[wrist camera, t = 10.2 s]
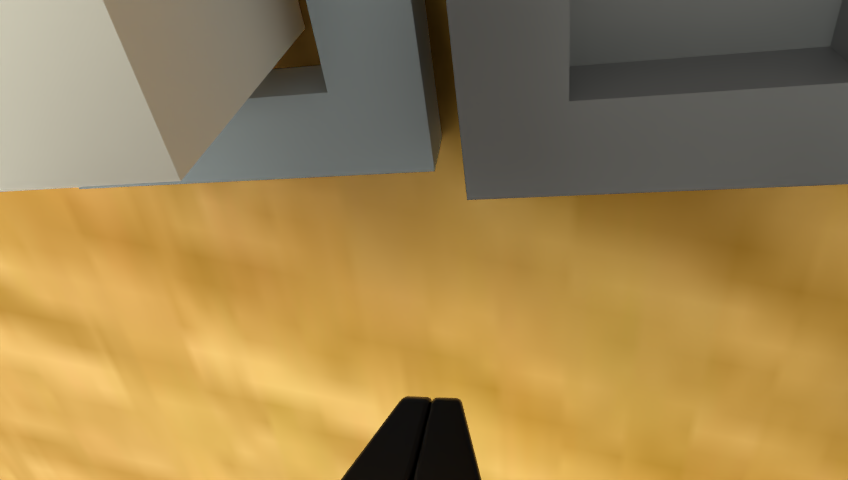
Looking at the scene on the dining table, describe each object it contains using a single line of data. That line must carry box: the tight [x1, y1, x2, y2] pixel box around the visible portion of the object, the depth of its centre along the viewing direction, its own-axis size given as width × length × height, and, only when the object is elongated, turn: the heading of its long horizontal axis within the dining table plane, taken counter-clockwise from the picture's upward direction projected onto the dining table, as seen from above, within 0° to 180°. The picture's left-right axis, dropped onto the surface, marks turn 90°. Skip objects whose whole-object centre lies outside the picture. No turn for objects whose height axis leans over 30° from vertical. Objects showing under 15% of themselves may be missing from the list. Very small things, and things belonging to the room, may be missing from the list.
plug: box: [0, 0, 305, 192], centre depth 13 cm, size 4×4×8 cm
